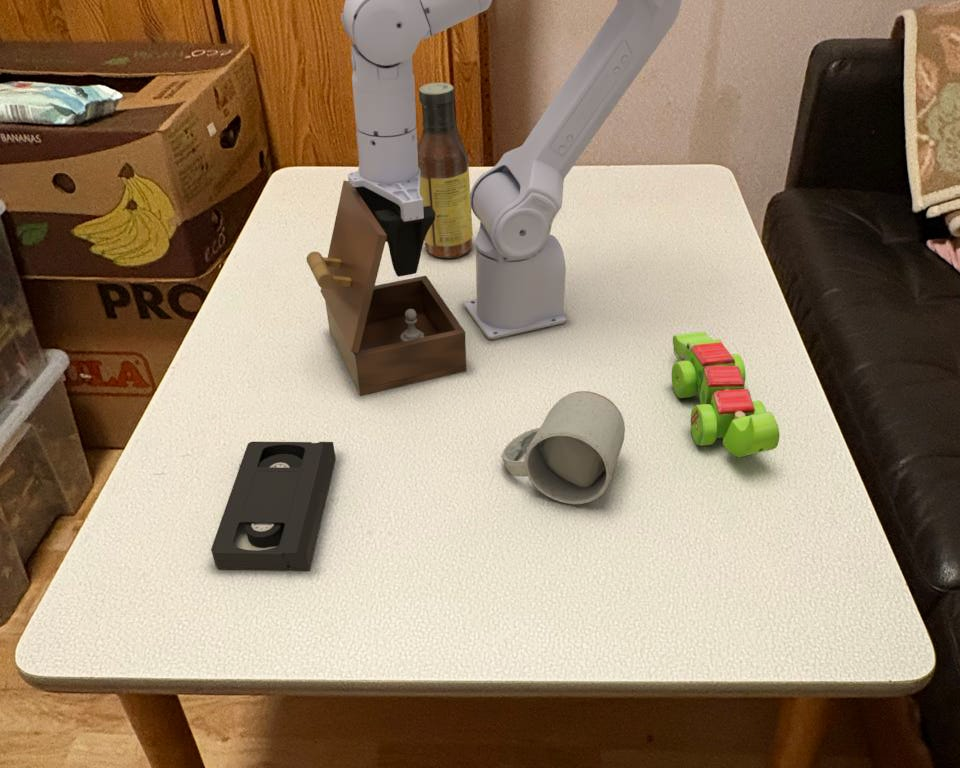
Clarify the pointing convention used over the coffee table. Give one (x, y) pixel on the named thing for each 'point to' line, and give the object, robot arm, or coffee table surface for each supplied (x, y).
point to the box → (408, 361)
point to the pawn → (411, 327)
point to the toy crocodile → (720, 396)
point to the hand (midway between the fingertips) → (394, 256)
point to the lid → (350, 265)
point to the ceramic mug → (571, 448)
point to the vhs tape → (275, 507)
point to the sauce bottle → (444, 174)
